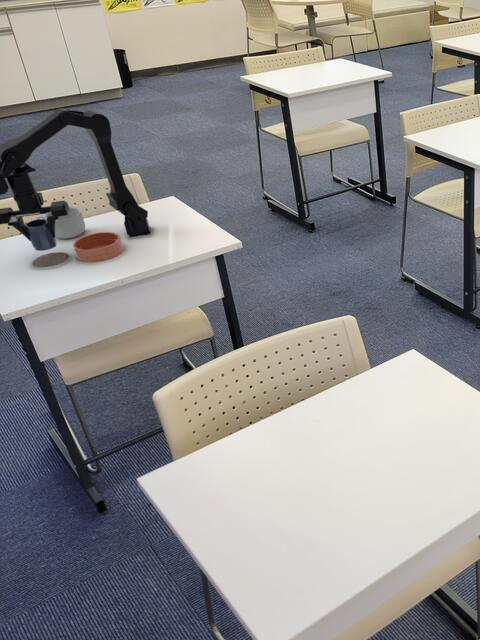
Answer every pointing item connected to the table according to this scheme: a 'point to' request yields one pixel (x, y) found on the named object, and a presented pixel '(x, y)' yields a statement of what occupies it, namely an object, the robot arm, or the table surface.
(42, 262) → the coaster
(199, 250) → the table surface
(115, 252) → the bowl
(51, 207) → the robot arm
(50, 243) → the cup
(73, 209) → the teacup
